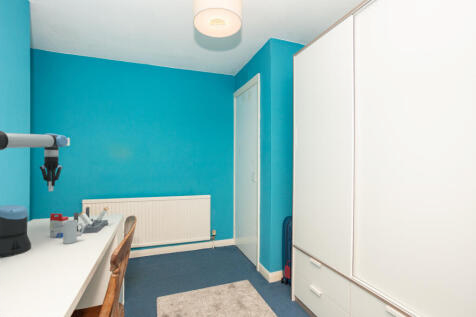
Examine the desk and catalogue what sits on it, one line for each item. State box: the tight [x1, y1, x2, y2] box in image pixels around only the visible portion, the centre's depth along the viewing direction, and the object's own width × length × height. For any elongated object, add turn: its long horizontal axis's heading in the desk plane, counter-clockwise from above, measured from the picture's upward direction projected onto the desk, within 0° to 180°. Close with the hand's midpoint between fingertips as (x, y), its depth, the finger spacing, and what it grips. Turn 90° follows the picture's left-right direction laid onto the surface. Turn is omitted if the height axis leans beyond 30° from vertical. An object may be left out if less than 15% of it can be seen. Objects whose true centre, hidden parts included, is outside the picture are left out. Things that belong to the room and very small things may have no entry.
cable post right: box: [85, 206, 94, 221], centre depth 174 cm, size 11×2×12 cm, turn 13°
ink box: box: [49, 213, 69, 239], centre depth 141 cm, size 8×5×15 cm, turn 84°
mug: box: [62, 219, 85, 245], centre depth 132 cm, size 10×7×12 cm, turn 118°
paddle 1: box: [78, 211, 93, 226], centre depth 151 cm, size 4×2×10 cm
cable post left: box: [73, 212, 79, 232], centre depth 150 cm, size 7×2×12 cm, turn 13°
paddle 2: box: [96, 206, 109, 222], centre depth 164 cm, size 4×2×10 cm
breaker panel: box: [79, 219, 109, 234], centre depth 158 cm, size 21×10×5 cm, turn 13°
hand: (50, 190), depth 154 cm, fingers closed
